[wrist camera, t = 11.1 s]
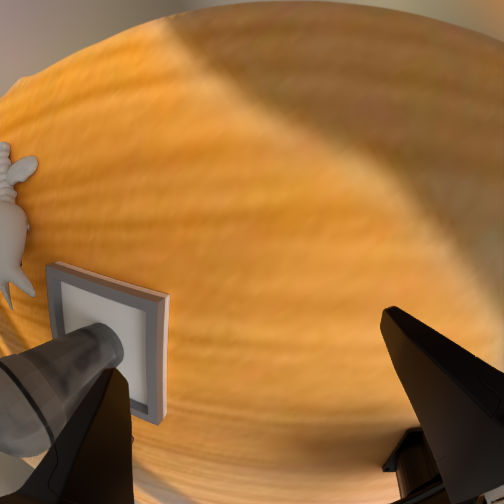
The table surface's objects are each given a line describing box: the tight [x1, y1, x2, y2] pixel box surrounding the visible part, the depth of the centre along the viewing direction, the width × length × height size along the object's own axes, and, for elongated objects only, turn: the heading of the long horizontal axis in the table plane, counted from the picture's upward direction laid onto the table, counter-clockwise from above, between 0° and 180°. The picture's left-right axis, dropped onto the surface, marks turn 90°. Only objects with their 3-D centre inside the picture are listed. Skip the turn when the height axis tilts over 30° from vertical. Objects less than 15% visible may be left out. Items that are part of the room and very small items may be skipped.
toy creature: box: [0, 142, 38, 310], centre depth 21 cm, size 13×7×20 cm
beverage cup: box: [0, 323, 124, 458], centre depth 14 cm, size 7×7×20 cm
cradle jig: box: [46, 261, 170, 425], centre depth 23 cm, size 13×13×2 cm
